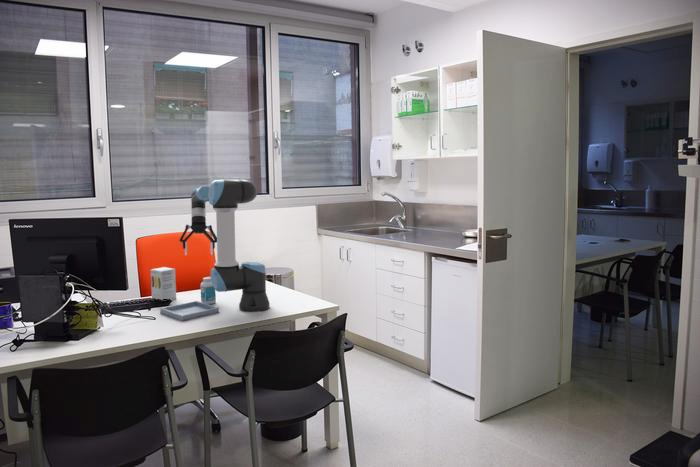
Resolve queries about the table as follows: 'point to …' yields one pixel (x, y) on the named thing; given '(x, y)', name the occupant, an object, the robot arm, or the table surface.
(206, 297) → the pill bottle
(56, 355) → the table surface
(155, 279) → the supplement box
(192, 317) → the tray
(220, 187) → the robot arm
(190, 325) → the table surface
